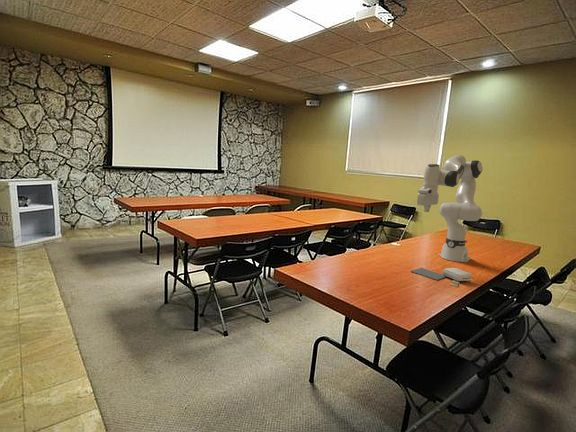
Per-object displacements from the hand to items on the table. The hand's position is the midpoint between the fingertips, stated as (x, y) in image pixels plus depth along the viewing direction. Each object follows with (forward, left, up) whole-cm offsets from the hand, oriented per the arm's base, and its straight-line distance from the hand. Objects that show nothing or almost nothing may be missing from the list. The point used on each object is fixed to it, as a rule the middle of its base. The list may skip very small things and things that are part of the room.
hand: (426, 211), depth 206 cm
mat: (+17, +15, -34) cm, 41 cm away
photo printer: (+8, +22, -31) cm, 39 cm away
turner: (+15, +30, -34) cm, 48 cm away
